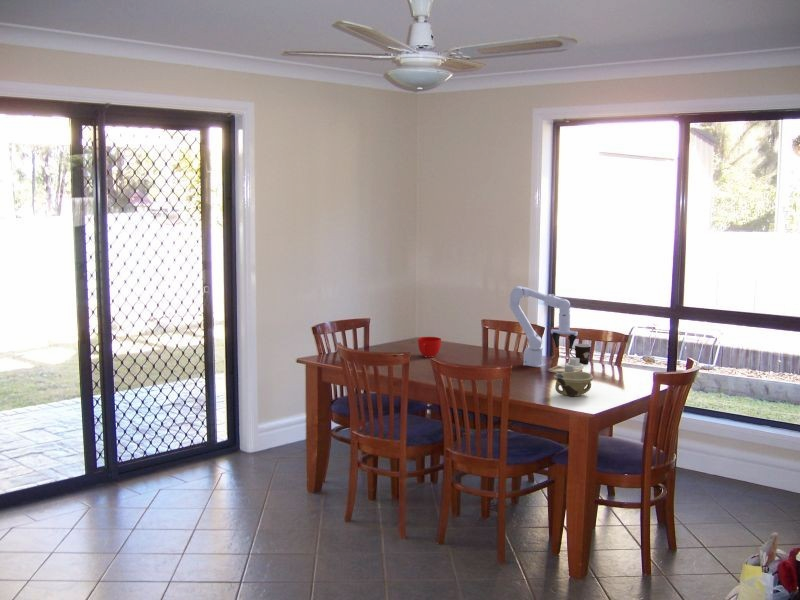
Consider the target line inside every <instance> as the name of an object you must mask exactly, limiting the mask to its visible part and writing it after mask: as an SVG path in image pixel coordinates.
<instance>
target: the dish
mask: <svg viewBox="0 0 800 600" xmlns="http://www.w3.org/2000/svg"><path fill="white" fill-rule="evenodd" d="M566 365H569V362H566V363H565V366H566ZM584 366H585V364H581V363H579V366H574V368H576V369H582V370H583V369H584V368H585V367H584Z"/></svg>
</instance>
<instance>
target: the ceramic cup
mask: <svg viewBox="0 0 800 600" xmlns="http://www.w3.org/2000/svg"><path fill="white" fill-rule="evenodd" d="M441 343H442V338H440V337H436V336H422V337H419V338H417V344H418V345H417V346H418V350H419V353H421V355H422V356H423V357H424V356H427V357H426V358H429V356H430V358H432V357H431V356H435V355H436V356H437V355H438V354H439V352H440V350H441ZM436 356H435V357H436Z"/></svg>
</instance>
